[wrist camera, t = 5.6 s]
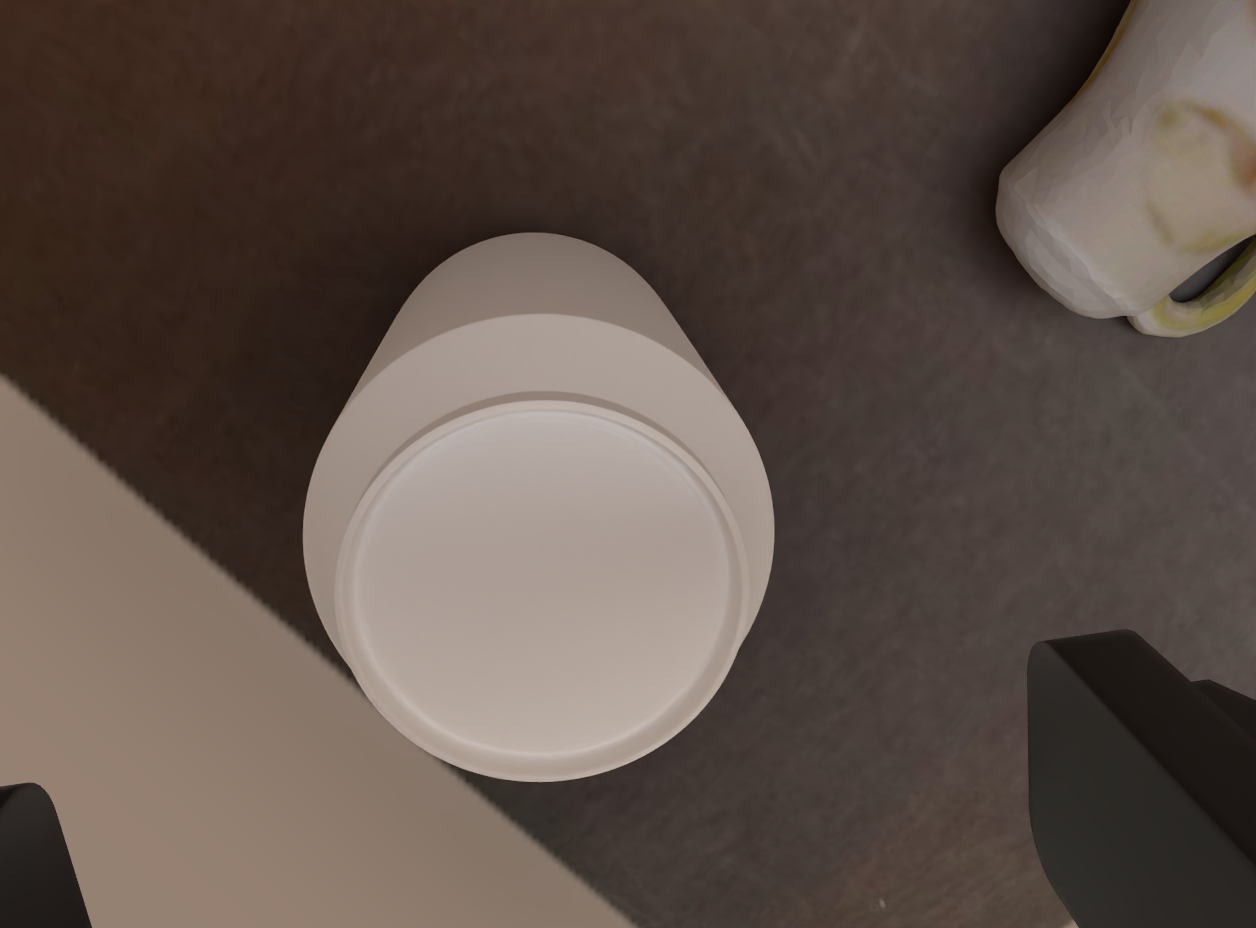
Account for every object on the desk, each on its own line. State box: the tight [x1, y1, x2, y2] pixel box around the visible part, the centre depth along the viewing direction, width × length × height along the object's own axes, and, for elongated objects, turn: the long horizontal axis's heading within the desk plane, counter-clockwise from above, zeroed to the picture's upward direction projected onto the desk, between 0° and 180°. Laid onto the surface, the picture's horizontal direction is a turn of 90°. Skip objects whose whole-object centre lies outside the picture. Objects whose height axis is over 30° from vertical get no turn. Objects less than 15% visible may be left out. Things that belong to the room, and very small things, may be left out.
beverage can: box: [303, 233, 774, 782], centre depth 20 cm, size 6×6×12 cm
